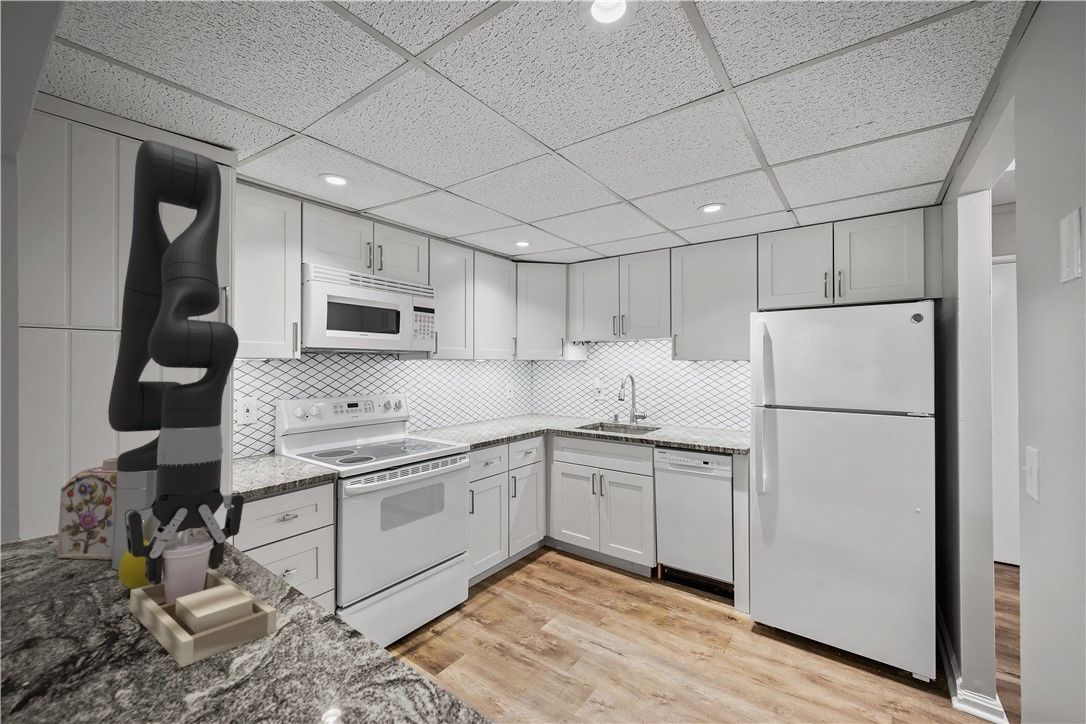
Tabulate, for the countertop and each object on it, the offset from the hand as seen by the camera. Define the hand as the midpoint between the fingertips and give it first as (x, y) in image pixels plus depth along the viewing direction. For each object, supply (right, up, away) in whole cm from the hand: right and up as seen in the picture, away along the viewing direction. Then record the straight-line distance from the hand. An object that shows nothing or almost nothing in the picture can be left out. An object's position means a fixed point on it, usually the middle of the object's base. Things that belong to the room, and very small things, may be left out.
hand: (185, 574), depth 68 cm
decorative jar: (-34, -7, +26) cm, 43 cm away
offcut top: (+9, -2, -7) cm, 11 cm away
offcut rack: (+5, -6, -4) cm, 8 cm away
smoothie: (0, -5, 0) cm, 5 cm away
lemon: (-13, -6, +8) cm, 16 cm away
